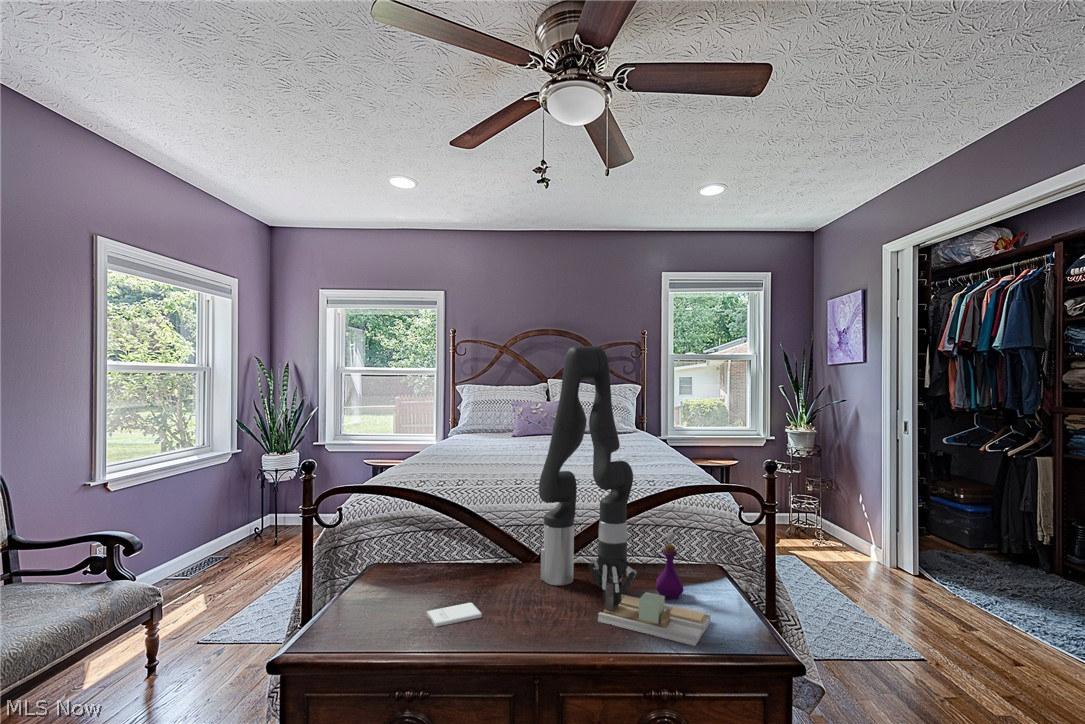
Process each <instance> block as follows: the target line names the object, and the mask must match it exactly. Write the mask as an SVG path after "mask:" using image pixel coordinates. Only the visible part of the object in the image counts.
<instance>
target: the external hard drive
mask: <svg viewBox="0 0 1085 724" xmlns="http://www.w3.org/2000/svg"><path fill="white" fill-rule="evenodd" d="M426 615H427V618H428V619H430V620H431V623H432V624H433V626H434V627H435V628H437V627H441V626H447V625H452V624H456V623H461V622H467V621H471V620H476V619H481V618H482V617H483V616H482V615H483V614H482V612H481V611H480V610H479V608H477V606H475V604H474V603H472V602H467V603H466V602H465V603H461V604H456V605H451V606H447V607H446V606H445V607H440V608H435V609H433V610H427V611H426Z"/></svg>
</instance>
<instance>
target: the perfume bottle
mask: <svg viewBox="0 0 1085 724" xmlns="http://www.w3.org/2000/svg"><path fill="white" fill-rule="evenodd" d="M664 534H665V535H664V536H665V537H666V539H667V540H668V543H669V544H666V545H664V550H663V551H662V554H663V555H664V556H665V558H666V559H665V560H666V561H665V562H666V563H665V567H664V569H663V570H662V572H661V573H660V574H659V575H658V576H657V578H656V581H655V584H656V585H655V588H656V591H657V592H658V595H662V596H665V599H667V600H678V599H679V598H680V596H681V595H682V594H683V593H684V582H683V580H682V579H681V577H680V576H679V574H678V573H677V572H676V569H675V566H674V558H675V557H676V556H678V552H677V551H676V547H675V546H674V545H672V544H671V542H672V541H673V540H674V539H675V536H676V533H674V532H665V533H664Z"/></svg>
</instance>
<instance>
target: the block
mask: <svg viewBox="0 0 1085 724" xmlns="http://www.w3.org/2000/svg"><path fill="white" fill-rule="evenodd" d="M638 598H639V619H641V620H646V621H650V622H654V623H659V622H660V621H661V616H662V614H663V613H664V612H665V604H666V602H665V596H662V595H660V594H657V593H651V592H648V591H646V592H644V593H643V594H642V595H641V596H640V597H638Z"/></svg>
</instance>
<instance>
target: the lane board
mask: <svg viewBox="0 0 1085 724" xmlns="http://www.w3.org/2000/svg"><path fill="white" fill-rule="evenodd" d="M639 598H640V597H636V596H631V595H627V594H622V601H621V603H620V604H619V605H620V606H624V607H628V608H633V609H637V610H639ZM666 609H670V623H669V624H668V626H667V627H666V628H663V627H659V626H655V625H651V624H647V623H642V622H638V621H634V620H630V619H626V618H622V617H618V616H614V615H610V614H606V613H604V612H601V611H599V612H598V613H597V622H598V623H602V624H606V625H610V624H611V625H610V626H615V627H619V628H623V629H627V630H630V631H634V632H639V633H643V634H645V633H646V634H645V635H649V634H650V636H653V635H654V637H657V638H662V639H666V640H671V641H673V642H678V643H682V644H686V645H689V646H694V647H696V645H697V644H698V642H699V641H700V639H701V637H702V636H703V634H704V633H705V631H706V629H707V628H708V626H709V625H710V623H711V613H707V612H703V611H700V610H694V609H689V608H685V607H681V606H677V605H672V604H667V603H665V611H666Z"/></svg>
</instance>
